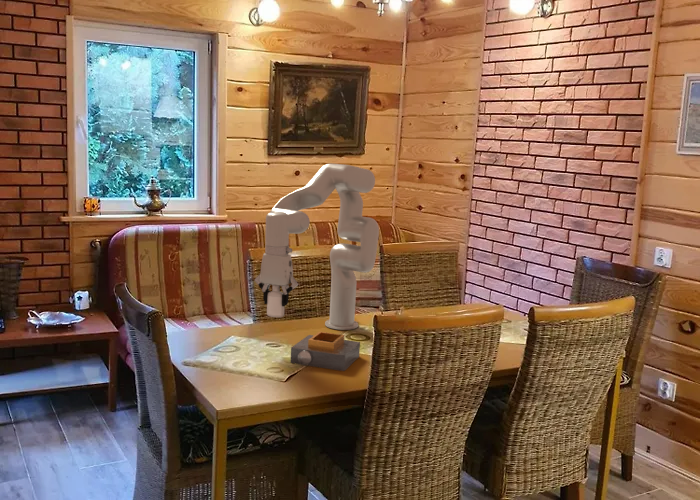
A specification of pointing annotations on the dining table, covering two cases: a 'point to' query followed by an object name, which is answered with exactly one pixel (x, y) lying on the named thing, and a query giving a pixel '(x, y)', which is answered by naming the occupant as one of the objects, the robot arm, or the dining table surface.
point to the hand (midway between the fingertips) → (275, 303)
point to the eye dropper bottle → (275, 302)
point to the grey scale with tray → (325, 351)
